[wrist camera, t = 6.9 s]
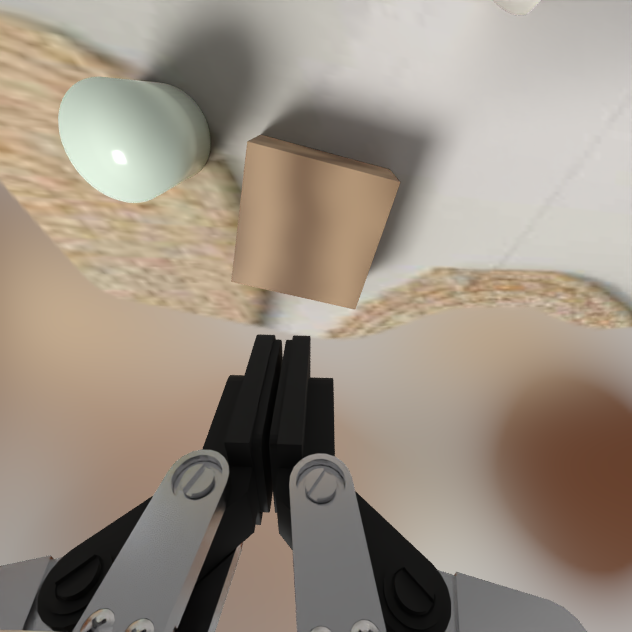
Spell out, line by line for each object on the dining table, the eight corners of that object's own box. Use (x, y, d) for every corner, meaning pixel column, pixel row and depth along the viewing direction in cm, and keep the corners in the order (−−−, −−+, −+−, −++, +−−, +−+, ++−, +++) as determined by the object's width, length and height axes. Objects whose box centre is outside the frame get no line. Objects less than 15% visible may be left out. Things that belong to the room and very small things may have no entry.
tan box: (389, 168, 26) (400, 182, 22) (351, 281, 32) (355, 309, 27) (261, 134, 25) (247, 141, 21) (244, 256, 31) (231, 281, 26)
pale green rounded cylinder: (203, 82, 23) (160, 77, 18) (216, 181, 27) (184, 203, 21) (111, 81, 24) (38, 75, 18) (136, 179, 27) (82, 201, 21)
